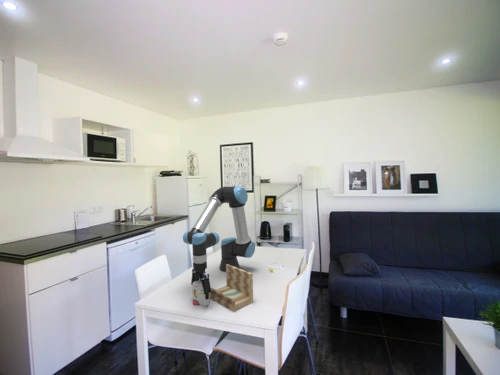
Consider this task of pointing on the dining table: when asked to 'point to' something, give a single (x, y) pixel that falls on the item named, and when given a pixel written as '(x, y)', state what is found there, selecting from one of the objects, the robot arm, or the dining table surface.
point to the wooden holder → (235, 289)
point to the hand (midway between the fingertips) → (201, 301)
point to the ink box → (198, 293)
